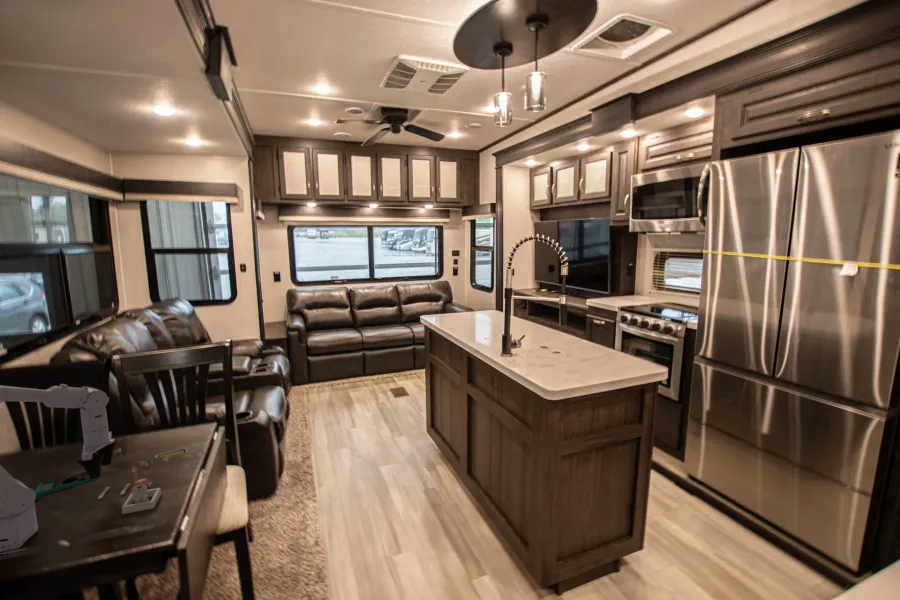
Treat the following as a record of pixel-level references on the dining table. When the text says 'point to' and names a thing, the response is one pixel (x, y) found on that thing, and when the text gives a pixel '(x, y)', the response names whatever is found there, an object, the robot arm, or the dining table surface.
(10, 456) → the dining table surface
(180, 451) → the handheld gaming console
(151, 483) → the beige button panel
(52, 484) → the digital multimeter
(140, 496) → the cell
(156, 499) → the tray
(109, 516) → the dining table surface
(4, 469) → the robot arm
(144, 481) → the test button
